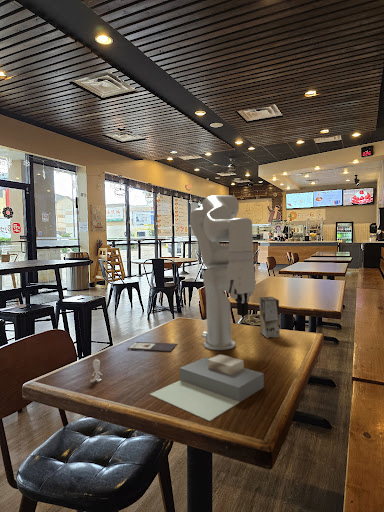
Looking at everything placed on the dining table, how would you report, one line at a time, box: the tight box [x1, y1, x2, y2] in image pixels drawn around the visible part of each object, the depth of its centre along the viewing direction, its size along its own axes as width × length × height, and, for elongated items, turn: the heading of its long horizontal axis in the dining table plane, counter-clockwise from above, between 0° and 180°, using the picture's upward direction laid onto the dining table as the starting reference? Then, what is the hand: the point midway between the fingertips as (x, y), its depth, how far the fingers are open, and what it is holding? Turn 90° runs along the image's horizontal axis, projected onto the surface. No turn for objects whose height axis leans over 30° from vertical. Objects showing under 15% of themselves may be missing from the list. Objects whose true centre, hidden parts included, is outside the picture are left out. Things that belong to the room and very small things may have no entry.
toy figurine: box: [89, 356, 103, 383], centre depth 106 cm, size 5×8×7 cm, turn 175°
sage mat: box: [149, 379, 239, 422], centre depth 93 cm, size 22×12×1 cm, turn 47°
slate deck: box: [179, 357, 265, 404], centre depth 102 cm, size 22×12×4 cm, turn 47°
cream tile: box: [207, 353, 245, 375], centre depth 103 cm, size 9×6×2 cm, turn 47°
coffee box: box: [259, 296, 281, 339], centre depth 150 cm, size 9×6×16 cm
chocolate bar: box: [127, 341, 178, 353], centre depth 139 cm, size 9×1×18 cm
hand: (242, 314), depth 109 cm, fingers closed
